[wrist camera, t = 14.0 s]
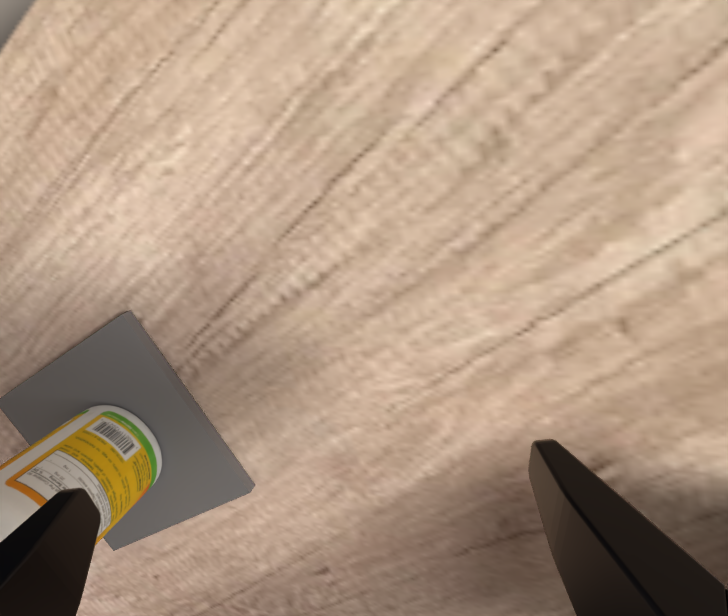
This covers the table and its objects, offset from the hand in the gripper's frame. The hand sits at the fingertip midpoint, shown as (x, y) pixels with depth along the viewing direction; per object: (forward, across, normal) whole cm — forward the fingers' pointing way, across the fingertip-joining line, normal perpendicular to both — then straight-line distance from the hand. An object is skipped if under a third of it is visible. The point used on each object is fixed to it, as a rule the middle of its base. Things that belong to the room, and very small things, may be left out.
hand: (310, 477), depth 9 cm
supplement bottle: (+12, +12, +11) cm, 20 cm away
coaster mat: (+12, +13, +11) cm, 21 cm away
